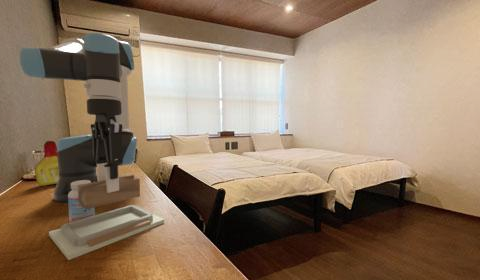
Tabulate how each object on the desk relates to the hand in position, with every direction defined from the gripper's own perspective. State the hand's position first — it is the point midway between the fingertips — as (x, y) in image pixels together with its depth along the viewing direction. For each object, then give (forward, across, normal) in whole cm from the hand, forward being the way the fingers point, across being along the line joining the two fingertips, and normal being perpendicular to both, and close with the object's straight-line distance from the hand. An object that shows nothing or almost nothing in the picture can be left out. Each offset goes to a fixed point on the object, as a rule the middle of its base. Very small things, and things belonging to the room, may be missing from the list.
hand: (108, 189), depth 58 cm
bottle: (+11, -68, +2) cm, 69 cm away
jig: (+11, 0, 0) cm, 11 cm away
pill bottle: (+11, -12, -3) cm, 16 cm away
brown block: (+3, 0, 0) cm, 3 cm away
